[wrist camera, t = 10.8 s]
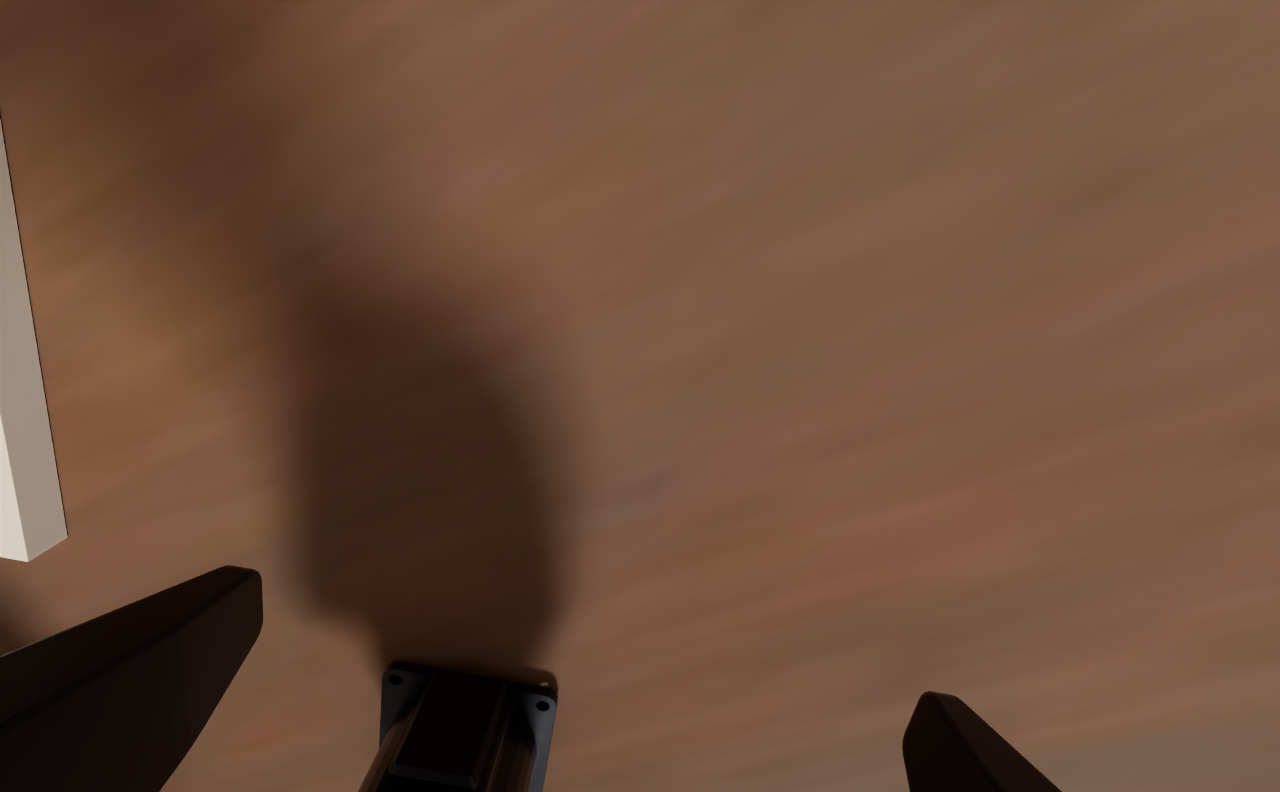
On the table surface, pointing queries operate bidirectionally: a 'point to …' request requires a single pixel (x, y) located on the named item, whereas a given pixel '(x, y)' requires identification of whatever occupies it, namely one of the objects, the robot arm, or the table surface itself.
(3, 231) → the l-shaped pin bracket
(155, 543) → the table surface
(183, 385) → the table surface
